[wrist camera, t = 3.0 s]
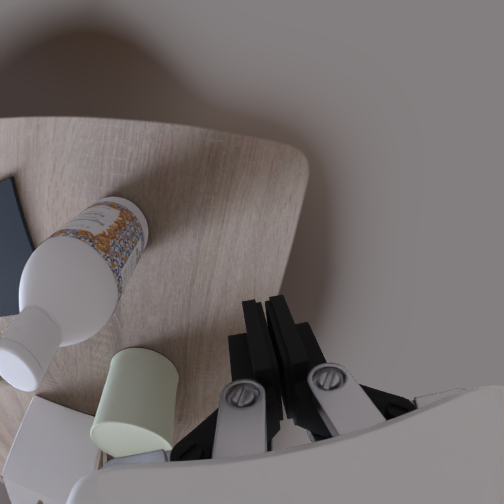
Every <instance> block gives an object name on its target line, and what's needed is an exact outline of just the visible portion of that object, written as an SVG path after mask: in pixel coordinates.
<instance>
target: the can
mask: <svg viewBox="0 0 504 504" xmlns="http://www.w3.org/2000/svg"><path fill="white" fill-rule="evenodd" d="M178 382H179V375H178V372H177V369H176V368H175V366H174V365H173V364H172V362H171V361H169V360H168V359H167V358H166V357H164V356H163V355H161V354H159V353H157V352H155V351H152V350H149V349H144V348H128V349H124V350H122V351H120V352H118V353H117V354H116V355H115V356H114V357H113V358H112V360H111V363H110V370H109V373H108V376H107V380H106V383H105V386H104V389H103V393H102V396H101V399H100V402H99V406H98V409H97V412H96V416H95V419H94V422H93V425H92V428H91V430H90V436H91V438H92V440H93V442H94V443H95V444H96V445H97V446H98V447H99V448H100V449H101V450H102V451H104V452H105V453H107V454H109V455H111V456H113V457H115V458H117V457H123V456H129V455H135V454H140V453H145V452H150V451H155V450H160V449H164V450H165V451H168V450H172V449H173V434H174V416H175V401H176V391H177V385H178Z"/></svg>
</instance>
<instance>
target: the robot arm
mask: <svg viewBox="0 0 504 504" xmlns="http://www.w3.org/2000/svg"><path fill="white" fill-rule="evenodd" d="M269 300H270V301H265V308H266V316H267V323H266V319H265V315H264V311H263V308H262V304H261V302H258V303H256V301H255V299H254V300H248V301H242V306H243V312H244V318H245V324H246V330H247V333H243V334H236V335H230V336H228V342H229V353H230V364H231V375H232V382H231V383H229V384H228V385H226V386H225V388H224V389H223V390H222V393H221V396H220V403H219V408H218V409H216V410H215V411H214V412H213V413H212V414H211V415H210V416H209V417H208V418H206V419H205V420H204V421H203V422H202V423H201V424H200V425H198V426H197V427H196V428H195V429H194V430H193V431H191V432H190V433H189V434H188V435H187V436H186V437H184V438H183V439H182V440H181V441H180V442H178V443H177V444H176V445H175V446H174V447H173V449H172V450H168V451H165V450H164V449H160V450H155V451H150V452H145V453H140V454H135V455H129V456H123V457H117V458H113V459H110V460H108V461H107V462H106V463H105V464H104V465H103V467H102V469H100V470H96V471H94V472H91V473H89V474H87V475H85V476H83V477H82V478H80V479H79V480H78V481H77V482H76V483H75V485H74V487H73V488H72V490H71V492H70V495H69V497H68V500H67V503H66V504H504V387H502V386H484V387H477V388H472V389H469V390H466V389H462V388H460V389H453V390H449V391H444V392H440V393H435V394H430V395H425V396H420V397H415V398H414V400H413V401H409V400H408V399H405V398H403V397H400V396H396V395H393V394H389V393H386V392H383V391H379V390H376V389H373V388H370V387H367V386H364V385H361V384H358V383H357V381H356V380H355V379H354V377H353V376H352V375H351V374H350V372H349V371H348V370H347V369H346V368H345V367H344V366H342V365H340V364H336V363H327V362H326V360H325V358H324V356H323V353H322V351H321V349H320V347H319V345H318V343H317V340H316V338H315V336H314V334H313V332H312V330H311V328H310V325H309V324H308V322H304V323H300V324H295V323H294V321H293V318H292V316H291V313H290V311H289V308H288V306H287V303H286V301H285V298H284V296H283V295H278V296H272V297H269ZM267 325H268V326H267ZM281 396H282V399H283V404H284V407H285V411H286V415H287V418H288V419H291V418H293V421H294V424H295V425H298V426H300V427H302V428H304V429H307V433H308V436H309V438H310V440H311V442H312V443H309V444H305V445H300V446H296V447H291V448H285V449H280V450H275V451H273V441H272V438H273V437H274V436H275V435H276V434H277V432H278V431H279V430H280V420H283V411H282V399H281Z"/></svg>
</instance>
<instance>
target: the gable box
mask: <svg viewBox="0 0 504 504" xmlns="http://www.w3.org/2000/svg"><path fill="white" fill-rule="evenodd" d="M94 419H95V417H94V416H90V415H87V414H84V413H81V412H78V411H75V410H72V409H70V408H67V407H64V406H61V405H59V404H56V403H53V402H51V401H48V400H46V399H43V398H41V397H39V396H36V395H35V396H33V398H32V400H31V402H30V404H29V406H28V409H27V411H26V413H25V415H24V418H23V420H22V422H21V425H20V427H19V429H18V432H17V434H16V437H15V439H14V442H13V444H12V447H11V449H10V452H9V455H8V457H7V460H6V463H5V466H4V469H3V472H2V475H1V477H2V479H3V480H4V483H5V486H6V489H7V492H8V495H9V498H10V500H11V503H12V504H66V503H67V500H68V497H69V495H70V492H71V490H72V488H73V487H74V485H75V483H76V482H77V481H78V480H79V479H80V478H82V477H83V476H85V475H87V474H89V473H91V472H94V471H96V470H100V469H102V467H103V465H104V464H105V463H106V462H107V453H105V452H104V451H102V450H101V449H100V448H99V447H98V446H97V445H96V444H95V443H94V442H93V440H92V438H91V436H90V430H91V428H92V425H93V422H94Z"/></svg>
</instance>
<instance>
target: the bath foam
mask: <svg viewBox="0 0 504 504" xmlns="http://www.w3.org/2000/svg"><path fill="white" fill-rule="evenodd" d="M147 241H148V225H147V222H146V219H145V217H144V215H143V213H142V212H141V210H140V209H139V208H138V207H137V206H136V205H135V204H134V203H132V202H131V201H129V200H127V199H124V198H121V197H107V198H103V199H101V200H99V201H97V202H96V203H94V204H93V205H91V206H90V207H88V208H87V209H85V210H84V211H83V212H81V213H80V214H79V215H77V216H76V217H74V218H73V219H72V220H70V221H69V222H68V223H66V224H65V225H64V226H63V227H61V228H60V229H59V230H57V231H56V232H55V233H54V234H52V235H51V236H50V237H48V238H47V239H46V240H45V241H44V242H42V243H41V244H40V245H39V246H38V247H37V248H36V250H35V251H34V252H33V253H32V255H31V256H30V258H29V259H28V261H27V263H26V265H25V267H24V270H23V273H22V276H21V280H20V287H19V310H20V313H19V314H18V315H17V316H16V317H15V319H14V320H13V321H12V322H11V324H10V325H9V326H8V327H7V329H6V330H5V331H4V333H3V334H2V335H1V337H0V375H1V376H2V377H3V378H4V379H5V380H6V381H7V382H8V383H10V384H11V385H12V386H14V387H16V388H18V389H20V390H23V391H34V390H36V389H37V388H38V387H39V385H40V383H41V381H42V379H43V377H44V375H45V373H46V371H47V370H48V368H49V366H50V364H51V362H52V360H53V358H54V356H55V354H56V352H57V350H58V348H59V347H63V346H68V345H72V344H76V343H79V342H82V341H84V340H86V339H88V338H90V337H92V336H93V335H94V334H96V333H97V332H98V331H99V330H100V329H101V328H102V327H103V326H104V325H105V324H106V323H107V321H108V320H109V319H110V317H111V316H112V315H113V313H114V311H115V309H116V307H117V304H118V302H119V300H120V298H121V296H122V294H123V292H124V290H125V287H126V285H127V283H128V281H129V279H130V277H131V275H132V273H133V271H134V269H135V267H136V265H137V263H138V261H139V259H140V257H141V255H142V253H143V251H144V249H145V247H146V244H147Z"/></svg>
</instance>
